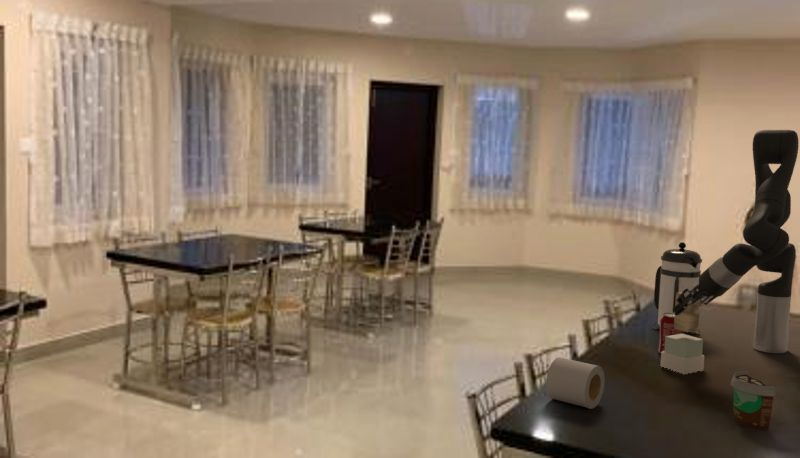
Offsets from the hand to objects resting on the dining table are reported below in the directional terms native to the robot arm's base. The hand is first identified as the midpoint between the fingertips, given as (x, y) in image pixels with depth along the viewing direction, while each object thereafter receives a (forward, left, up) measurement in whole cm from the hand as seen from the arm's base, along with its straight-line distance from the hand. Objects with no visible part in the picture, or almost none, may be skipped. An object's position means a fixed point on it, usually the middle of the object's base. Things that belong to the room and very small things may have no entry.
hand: (681, 311), depth 218 cm
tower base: (0, +2, -16) cm, 16 cm away
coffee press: (-34, -30, -16) cm, 48 cm away
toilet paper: (+48, +10, -16) cm, 52 cm away
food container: (+22, +37, -16) cm, 46 cm away
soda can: (-9, -10, -16) cm, 21 cm away
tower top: (0, +2, -11) cm, 12 cm away
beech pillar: (0, +2, -5) cm, 5 cm away
